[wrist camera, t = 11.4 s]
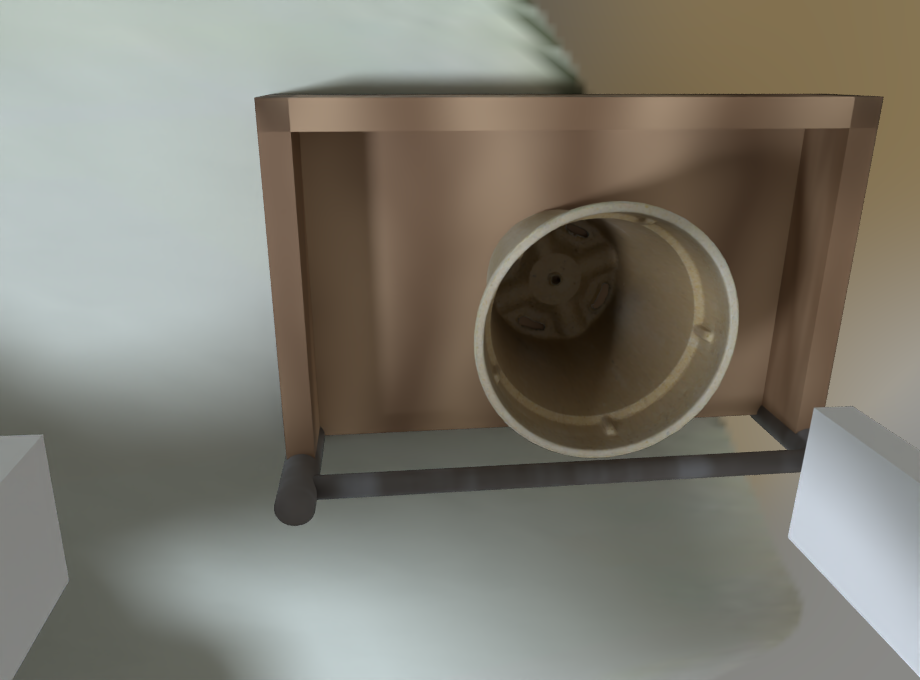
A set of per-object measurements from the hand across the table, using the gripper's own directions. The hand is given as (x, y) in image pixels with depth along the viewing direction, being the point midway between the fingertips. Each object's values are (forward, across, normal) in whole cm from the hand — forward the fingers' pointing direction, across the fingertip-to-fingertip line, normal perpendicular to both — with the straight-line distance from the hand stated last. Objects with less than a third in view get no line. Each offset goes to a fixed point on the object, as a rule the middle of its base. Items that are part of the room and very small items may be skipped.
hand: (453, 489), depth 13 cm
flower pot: (+21, +7, -2) cm, 22 cm away
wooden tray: (+22, +7, -1) cm, 23 cm away
